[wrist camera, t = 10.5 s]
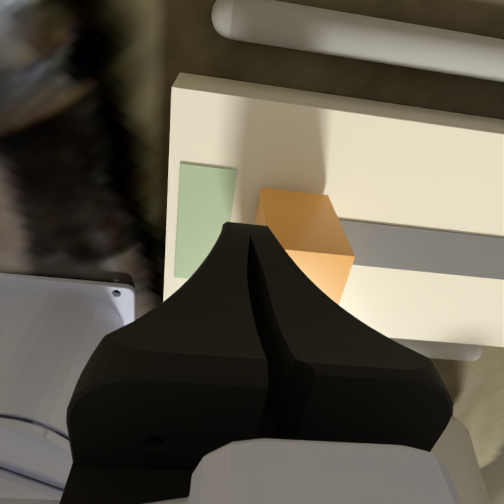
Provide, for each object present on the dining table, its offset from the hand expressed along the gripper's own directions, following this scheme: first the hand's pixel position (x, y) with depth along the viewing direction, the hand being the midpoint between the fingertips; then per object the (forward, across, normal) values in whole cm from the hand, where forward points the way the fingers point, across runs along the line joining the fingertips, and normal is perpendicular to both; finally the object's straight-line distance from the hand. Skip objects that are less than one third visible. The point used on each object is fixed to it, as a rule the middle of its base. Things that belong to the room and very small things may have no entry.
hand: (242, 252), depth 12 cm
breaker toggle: (+6, -3, +3) cm, 7 cm away
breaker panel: (+9, -8, +3) cm, 13 cm away
